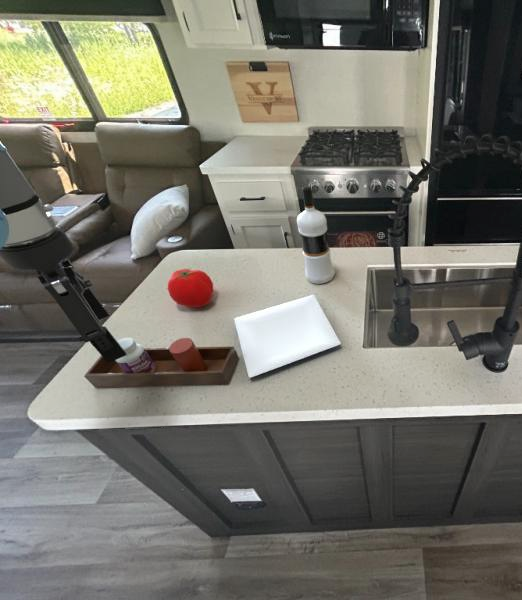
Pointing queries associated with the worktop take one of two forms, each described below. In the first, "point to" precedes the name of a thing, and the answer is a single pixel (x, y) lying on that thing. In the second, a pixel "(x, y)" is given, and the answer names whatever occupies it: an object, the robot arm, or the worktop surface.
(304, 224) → the vodka
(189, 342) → the spice tin
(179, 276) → the tomato
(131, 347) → the pill bottle
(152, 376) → the wooden tray
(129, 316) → the worktop surface
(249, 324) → the plate
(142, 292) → the worktop surface
